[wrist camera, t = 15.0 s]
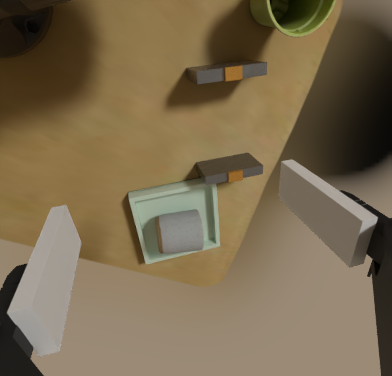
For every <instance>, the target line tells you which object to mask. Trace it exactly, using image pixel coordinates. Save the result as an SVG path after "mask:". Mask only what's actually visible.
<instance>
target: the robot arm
mask: <svg viewBox="0 0 392 376" xmlns="http://www.w3.org/2000/svg"><path fill="white" fill-rule="evenodd" d="M67 1H71V0H0V58H8V57H14V56H18V55H21V54H24V53H26V52H28V51H30V50H31V49H33V48H34V47H35V46H36V45H38V44H39V43H40V41H41V40H42V39H43V37H44V36H45V34H46V32H47V31H48V28H49V26H50V23H51V18H52V12H53V5H56V4H60V3H64V2H67ZM280 173H281V174H280V186H279V199H280V200H281V201H282V202H283V203H284V204H285V205H286V206H287V207H288V208H289V209H291V211H292V212H293V213H295V215H296V216H298V217H299V218H300V219H301V220H302V221H303V222H304V223H305V224H306V225H307V226H308V227H309V228H310V229H311V230H312V231H313V232H314V233H315V234H316V235H317V236H318V237H319V238H320V239H321V240H322V241H323V242H324V243H325V244H326V245H327V246H328V247H329V248H330V249H331V250H332V251H333V252H334V253H336V255H337V256H338V257H340V258H341V259H342V261H344V262H345V263H346V264H347V265H348V266H349V267H353V266H357V265H360V264H363V263H364V260H365V257H366V254H367V255H369V256H370V257H371V258H372V259H373V260H372V263H371V266H370V269H369V272H368V275H367V276H368V277H370V275H371V274H372V280H373V281H372V282H373V291H374V303H375V314H376V325H377V335H378V346H379V357H380V366H381V367H380V368H381V376H392V218H388V217H387V216H385V215H383V214H382V213H380V212H379V211H377V210H376V209H374V208H373V207H371V206H370V205H368V204H366V203H365V202H363V201H362V200H360V199H359V198H357V197H356V196H354V195H353V194H350V193H348V192H345V191H342V190H341V191H338V190H337V189H335V188H334V187H332V186H331V185H329V184H328V183H326V182H325V181H323V180H322V179H320V178H319V177H318V176H316V175H314V174H313V173H312V172H310V171H309V170H307V169H306V168H304V167H303V166H301V165H299V164H298V163H297V162H295V161H294V160H287V161H282V162H281V172H280ZM80 247H81V240H80V238H79V235H78V233H77V230H76V228H75V225H74V223H73V221H72V218H71V216H70V213H69V211H68V208H67V206H66V205H63V206H58V207H53V208H51V210H50V212H49V215H48V217H47V220H46V222H45V224H44V227H43V229H42V231H41V234H40V236H39V238H38V241H37V243H36V245H35V248H34V250H33V252H32V255H31V257H30V260H29V262H28V264H24V265H19V266H16V267H15V268H14V269H13V270H12V271H11V273H10V274H9V275H8V276H7V278H6V280H5V282H4V284H3V288H1V290H0V376H43V374H42V373H41V372H40V371H39V369H38V368H37V367H36V366H35V364H34V363H33V362H32V361H31V359H30V358H31V355H32V351H33V349H34V351H35V352H36V354H37V355H38V356H39V357H41V356H44V355H48V354H51V353H55V352H58V351H60V347H61V342H62V337H63V332H64V328H65V322H66V317H67V312H68V307H69V302H70V297H71V292H72V287H73V282H74V277H75V272H76V267H77V262H78V257H79V252H80Z"/></svg>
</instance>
